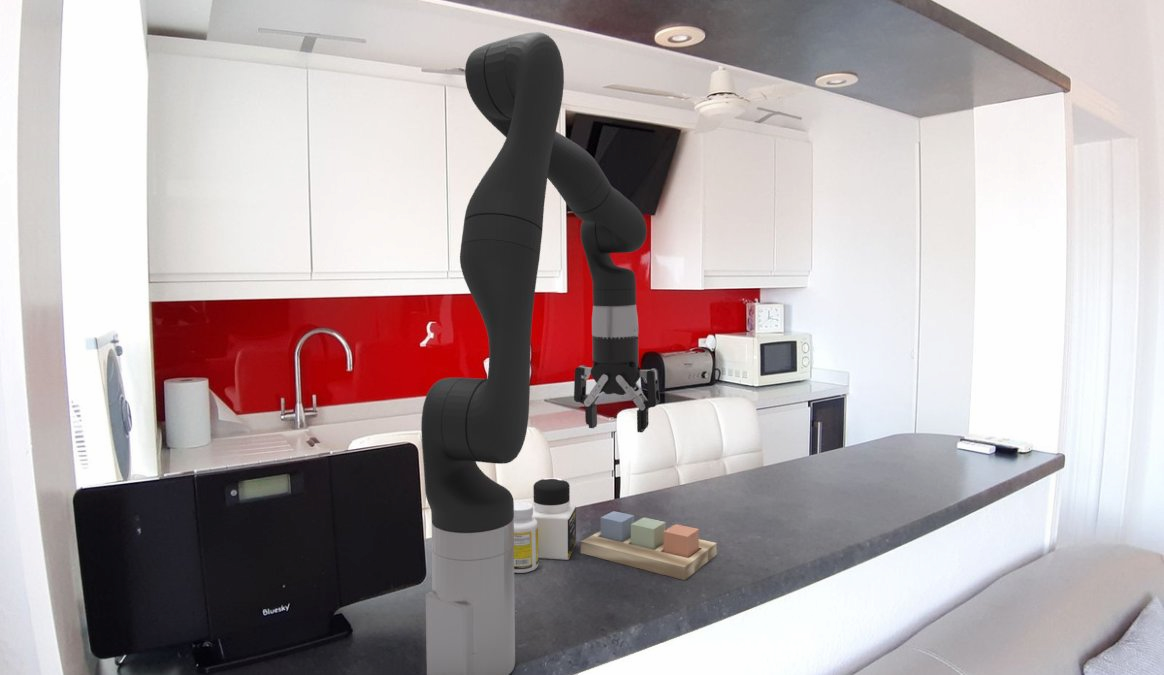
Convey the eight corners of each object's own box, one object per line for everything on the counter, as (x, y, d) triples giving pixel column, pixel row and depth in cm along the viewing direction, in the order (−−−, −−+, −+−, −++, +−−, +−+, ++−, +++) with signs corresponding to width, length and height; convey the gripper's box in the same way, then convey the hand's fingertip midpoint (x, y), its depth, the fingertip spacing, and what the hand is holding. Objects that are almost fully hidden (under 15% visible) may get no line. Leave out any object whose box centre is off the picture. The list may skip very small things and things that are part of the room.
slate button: (621, 542, 110) (621, 522, 110) (600, 537, 112) (600, 517, 112) (634, 535, 113) (634, 515, 113) (613, 530, 116) (613, 511, 115)
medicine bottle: (568, 560, 107) (568, 487, 106) (526, 558, 108) (525, 485, 107) (576, 544, 114) (576, 476, 113) (536, 542, 115) (535, 474, 114)
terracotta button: (687, 558, 103) (687, 536, 103) (663, 552, 105) (663, 531, 105) (698, 550, 106) (698, 529, 106) (675, 544, 109) (675, 524, 109)
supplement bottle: (521, 557, 108) (520, 498, 107) (545, 566, 105) (545, 505, 104) (496, 568, 104) (496, 506, 103) (521, 577, 100) (520, 513, 100)
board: (684, 580, 99) (684, 567, 99) (580, 553, 110) (580, 541, 110) (716, 554, 109) (716, 543, 109) (618, 532, 120) (618, 521, 120)
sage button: (653, 550, 106) (653, 529, 106) (630, 545, 109) (630, 524, 109) (665, 542, 110) (665, 522, 110) (643, 537, 112) (643, 517, 112)
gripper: (566, 334, 107) (568, 431, 109) (650, 336, 102) (651, 438, 104) (583, 329, 114) (585, 421, 116) (663, 331, 109) (664, 427, 110)
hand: (616, 429), depth 110 cm, fingers open, 8 cm apart
